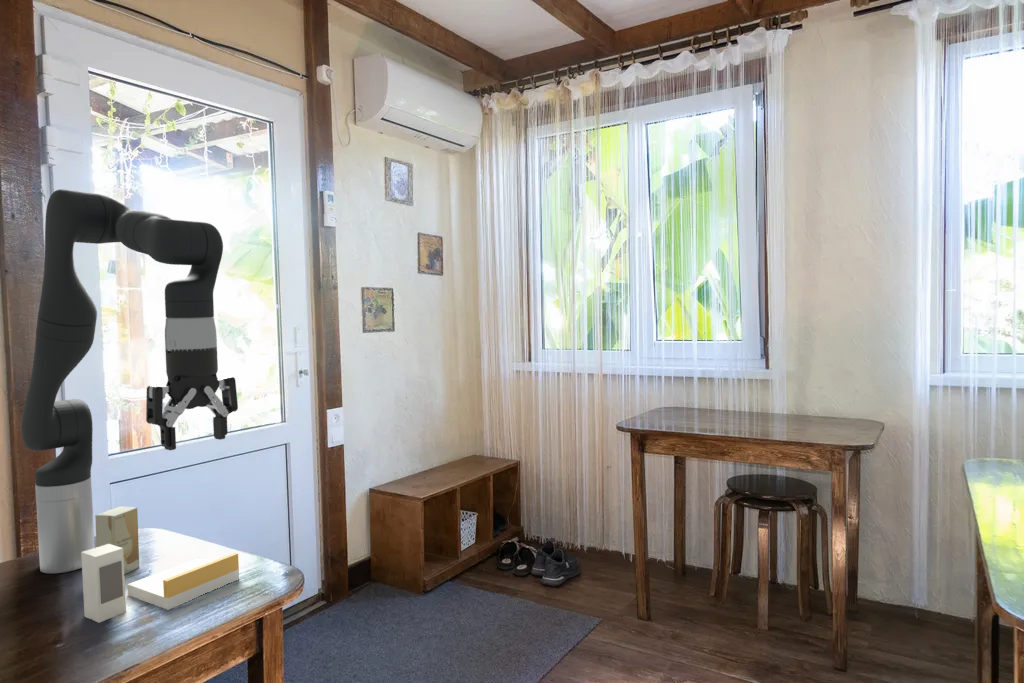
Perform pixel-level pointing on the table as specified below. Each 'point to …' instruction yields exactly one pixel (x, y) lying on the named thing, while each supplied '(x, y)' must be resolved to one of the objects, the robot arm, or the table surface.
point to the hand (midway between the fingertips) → (195, 444)
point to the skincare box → (120, 533)
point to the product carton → (103, 582)
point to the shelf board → (185, 581)
